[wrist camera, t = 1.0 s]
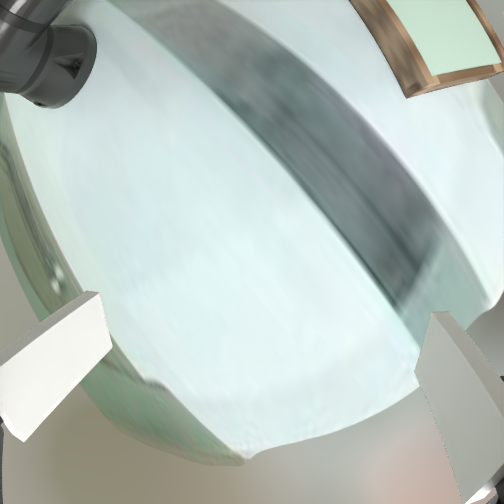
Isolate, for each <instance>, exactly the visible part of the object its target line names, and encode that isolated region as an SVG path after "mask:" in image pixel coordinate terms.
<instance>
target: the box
mask: <svg viewBox="0 0 504 504" xmlns="http://www.w3.org/2000/svg"><path fill="white" fill-rule="evenodd" d="M349 1H350V2H351V4H352V5H353V6H354V8H355V9H356V11H357V12H358V14H359V15H360V17H361V18H362V20H363V21H364V23H365V24H366V26H367V27H368V29H369V30H370V32H371V34H372V35H373V37H374V39H375V40H376V42H377V44H378V45H379V47H380V49H381V50H382V52H383V54H384V56H385V57H386V59H387V61H388V63H389V65H390V67H391V68H392V70H393V72H394V74H395V76H396V78H397V80H398V82H399V84H400V86H401V88H402V90H403V92H404V94H405V97H406V99H407V98H410V97H414V96H417V95H421V94H424V93H428V92H432V91H436V90H440V89H443V88H447V87H451V86H456V85H460V84H464V83H469V82H473V81H478V80H483V79H487V78H489V77H492V76H494V75H496V74H499V73H501V72H504V48H503V46H502V44H501V42H500V40H499V39H498V37H497V35H496V33H495V32H494V30H493V28H492V26H491V24H490V23H489V21H488V20H487V18H486V16H485V15H484V13H483V12H482V10H481V8H480V7H479V5H478V4H477V2H476V1H475V0H466V1H467V3H468V4H469V6H470V7H471V9H472V10H473V12H474V14H475V15H476V17H477V18H478V20H479V22H480V23H481V25H482V27H483V28H484V30H485V32H486V33H487V35H488V37H489V39H490V41H491V42H492V44H493V46H494V48H495V50H496V52H497V54H498V56H499V58H500V60H501V63H499V64H492V65H486V66H480V67H474V68H469V69H464V70H459V71H454V72H449V73H445V74H440V75H436V76H432V75H431V73H430V71H429V69H428V67H427V65H426V63H425V61H424V59H423V58H422V56H421V54H420V52H419V50H418V49H417V47H416V45H415V43H414V42H413V40H412V38H411V37H410V35H409V33H408V32H407V30H406V29H405V27H404V25H403V24H402V22H401V21H400V19H399V18H398V16H397V15H396V13H395V12H394V10H393V9H392V7H391V6H390V4H389V3H388V2H387V0H349Z"/></svg>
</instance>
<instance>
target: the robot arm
mask: <svg viewBox="0 0 504 504" xmlns="http://www.w3.org/2000/svg"><path fill="white" fill-rule="evenodd" d="M71 1H72V0H0V92H6V93H16V94H20V95H21V96H23V97H24V98H26V99H28V100H29V101H31V102H33V103H34V104H35V105H37V106H39V107H43V108H51V109H54V108H58V107H61V106H63V105H65V104H66V103H68V102H69V101H70V100H71V99H72V98H74V96H75V95H76V94H77V93H78V92H79V91H80V89H81V88H82V87H83V85H84V84H85V82H86V80H87V78H88V77H89V75H90V72H91V70H92V67H93V65H94V61H95V57H96V40H95V37H94V35H93V33H92V32H91V31H89V30H88V29H86V28H84V27H81V26H79V25H50V24H51V23H52V22H53V21H54V20H55V18H56V17H57V16H58V15H59V14H60V13H61V12H62V11H63V9H64V8H65V7H66V6H67V5H68V4H69V3H70V2H71ZM111 348H112V343H111V339H110V335H109V331H108V327H107V323H106V319H105V314H104V310H103V305H102V301H101V296H100V293H99V292H92V291H86V292H84V293H83V294H81V295H80V296H78V297H77V298H75V299H74V300H72V301H71V302H69V303H68V304H66V305H65V306H63V307H62V308H60V309H59V310H57V311H56V312H54V313H53V314H51V315H50V316H49V317H47V318H46V319H44V320H43V321H41V322H40V323H39V324H37V325H36V326H34V327H33V328H31V329H30V330H29V331H27V332H26V333H24V334H23V335H22V336H20V337H19V338H18V339H16V340H15V341H14V342H12V343H11V344H9V345H8V346H7V347H5V348H4V349H3V350H1V351H0V504H3V499H2V451H3V436H4V432H3V428H2V427H1V423H3V421H4V423H5V424H6V426H7V427H8V429H9V430H10V432H11V433H12V434H13V435H15V436H16V437H17V438H19V439H20V440H22V441H23V442H25V441H26V440H27V438H28V437H29V436H30V435H31V434H32V433H33V432H34V430H35V429H36V428H37V427H38V426H39V425H40V424H41V423H42V422H43V421H44V419H45V418H46V417H47V416H48V415H49V414H50V413H51V412H52V411H53V410H54V409H55V407H56V406H57V405H58V404H59V403H60V402H61V401H62V400H63V399H64V398H65V396H67V395H68V393H69V392H70V391H71V390H72V389H73V388H74V387H75V386H76V385H77V384H78V383H79V382H80V381H81V380H82V379H83V378H84V376H85V375H86V374H87V373H88V372H89V371H90V370H91V369H92V368H93V367H94V366H95V365H96V364H97V363H98V362H99V361H100V360H101V359H102V358H103V357H104V356H105V355H106V354H107V352H108V351H109V350H110V349H111ZM414 372H415V374H416V376H417V378H418V381H419V383H420V385H421V387H422V390H423V392H424V394H425V397H426V399H427V402H428V404H429V407H430V409H431V412H432V414H433V417H434V419H435V422H436V424H437V427H438V430H439V432H440V434H441V437H442V440H443V443H444V446H445V449H446V451H447V455H448V457H449V460H450V463H451V466H452V470H453V472H454V476H455V479H456V482H457V485H458V489H459V492H460V496H461V500H462V503H463V504H469V503H472V502H474V501H477V500H479V499H482V498H484V497H485V496H486V495H487V494H488V493H489V492H490V491H491V490H492V489H493V488H494V487H495V488H496V491H497V494H496V495H495V496H494V497H493V498H492V499H491V500H490V501H489V502H488V503H487V504H504V376H499V375H498V374H497V372H496V371H495V370H494V368H493V367H492V365H491V364H490V363H489V361H488V360H487V359H486V358H485V356H484V355H483V354H482V352H481V351H480V350H479V348H478V347H477V346H476V344H474V342H473V341H472V340H471V339H470V337H469V336H468V335H467V333H466V332H465V331H464V330H463V328H462V327H461V326H460V325H459V324H458V322H457V321H456V320H455V319H454V318H453V317H452V315H451V314H450V313H449V312H448V311H446V312H431V316H430V320H429V324H428V328H427V332H426V335H425V339H424V342H423V345H422V349H421V352H420V355H419V358H418V361H417V364H416V367H415V370H414Z"/></svg>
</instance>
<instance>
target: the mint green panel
mask: <svg viewBox="0 0 504 504" xmlns="http://www.w3.org/2000/svg"><path fill="white" fill-rule="evenodd" d="M387 2H388V3H389V4H390V6H391V7H392V9H393V10H394V12H395V13H396V15H397V16H398V18H399V19H400V21H401V22H402V24H403V25H404V27H405V29H406V30H407V32H408V33H409V35H410V37H411V38H412V40H413V42H414V43H415V45H416V47H417V49H418V50H419V52H420V54H421V56H422V58H423V59H424V61H425V63H426V65H427V67H428V69H429V71H430V73H431V75H432V76H436V75H440V74H445V73H449V72H454V71H459V70H464V69H469V68H474V67H480V66H486V65H492V64H499V63H501V60H500V58H499V56H498V54H497V52H496V50H495V48H494V46H493V44H492V42H491V41H490V39H489V37H488V35H487V33H486V32H485V30H484V28H483V27H482V25H481V23H480V22H479V20H478V18H477V17H476V15H475V14H474V12H473V10H472V9H471V7H470V6H469V4H468V3H467V1H466V0H387Z"/></svg>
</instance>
